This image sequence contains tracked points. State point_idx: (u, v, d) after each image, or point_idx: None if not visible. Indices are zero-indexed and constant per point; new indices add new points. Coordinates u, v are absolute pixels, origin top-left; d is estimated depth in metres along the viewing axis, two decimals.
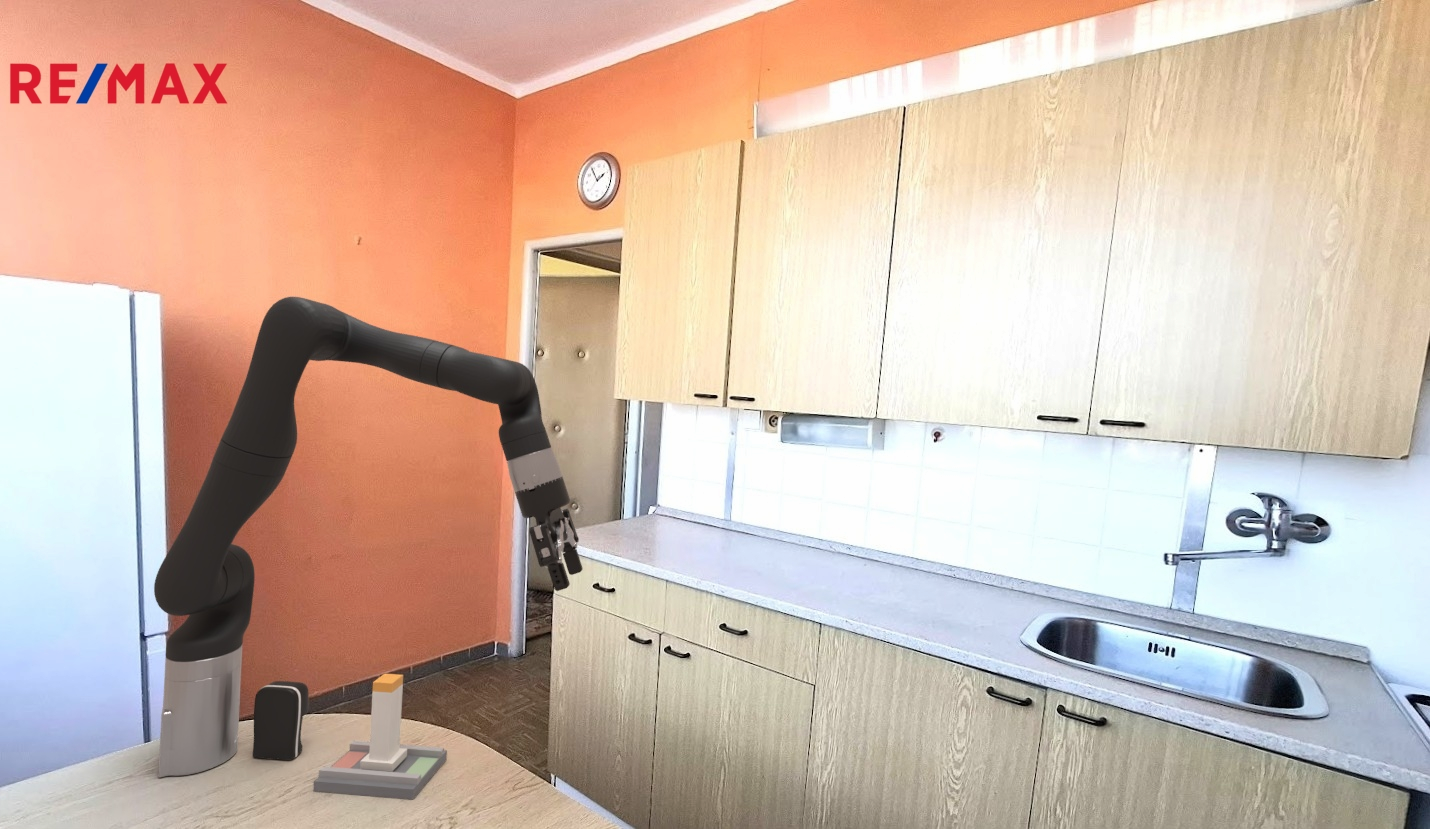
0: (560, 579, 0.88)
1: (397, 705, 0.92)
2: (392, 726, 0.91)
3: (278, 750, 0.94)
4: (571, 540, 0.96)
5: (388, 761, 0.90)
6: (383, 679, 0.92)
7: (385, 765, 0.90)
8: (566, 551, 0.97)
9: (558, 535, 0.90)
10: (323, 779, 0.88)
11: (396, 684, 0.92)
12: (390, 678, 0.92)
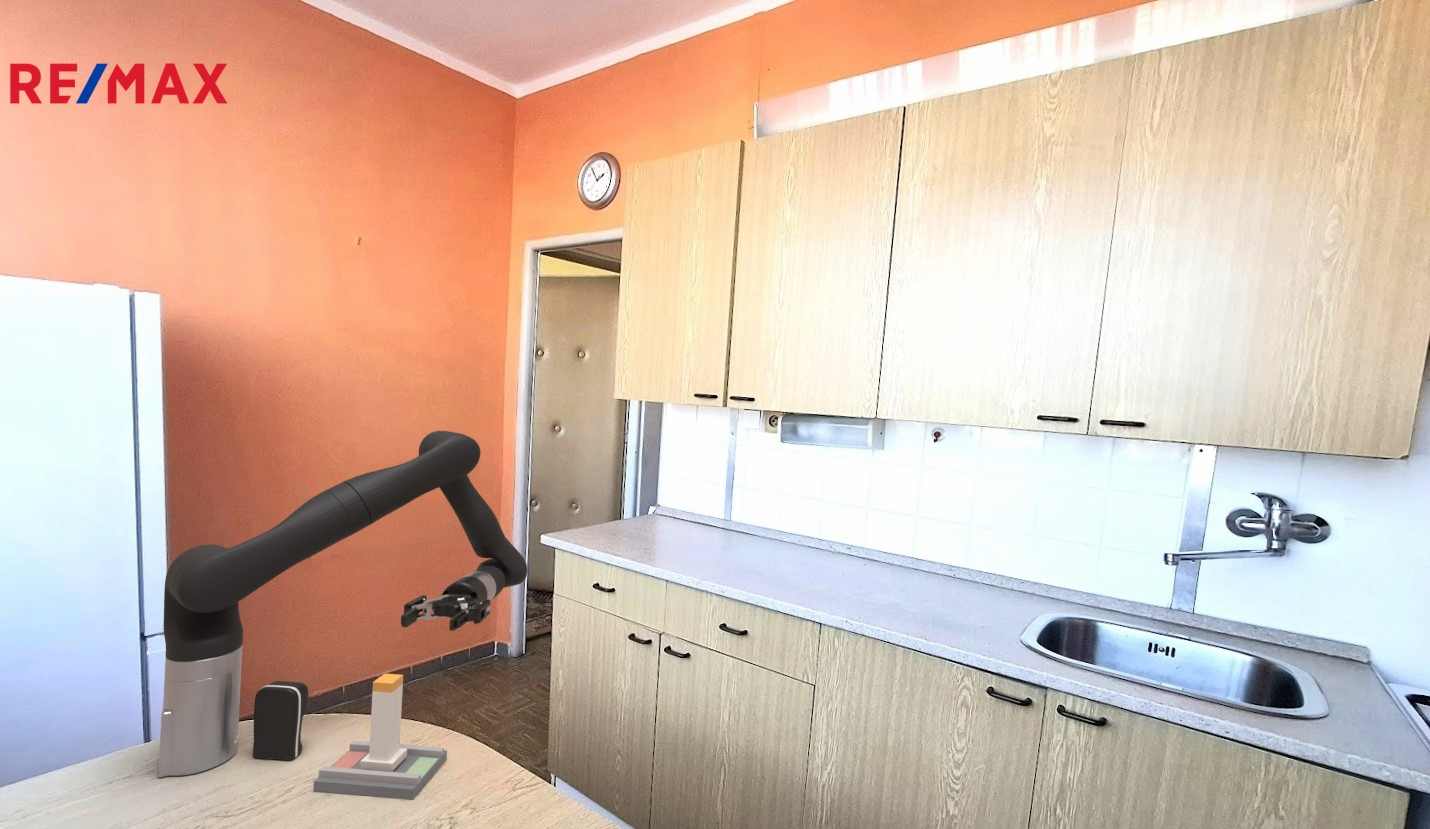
0: (461, 624, 1.04)
1: (397, 705, 0.92)
2: (392, 726, 0.91)
3: (278, 750, 0.94)
4: (426, 618, 1.09)
5: (388, 761, 0.90)
6: (383, 679, 0.92)
7: (385, 765, 0.90)
8: (417, 611, 1.07)
9: None
10: (323, 779, 0.88)
11: (396, 684, 0.92)
12: (390, 678, 0.92)
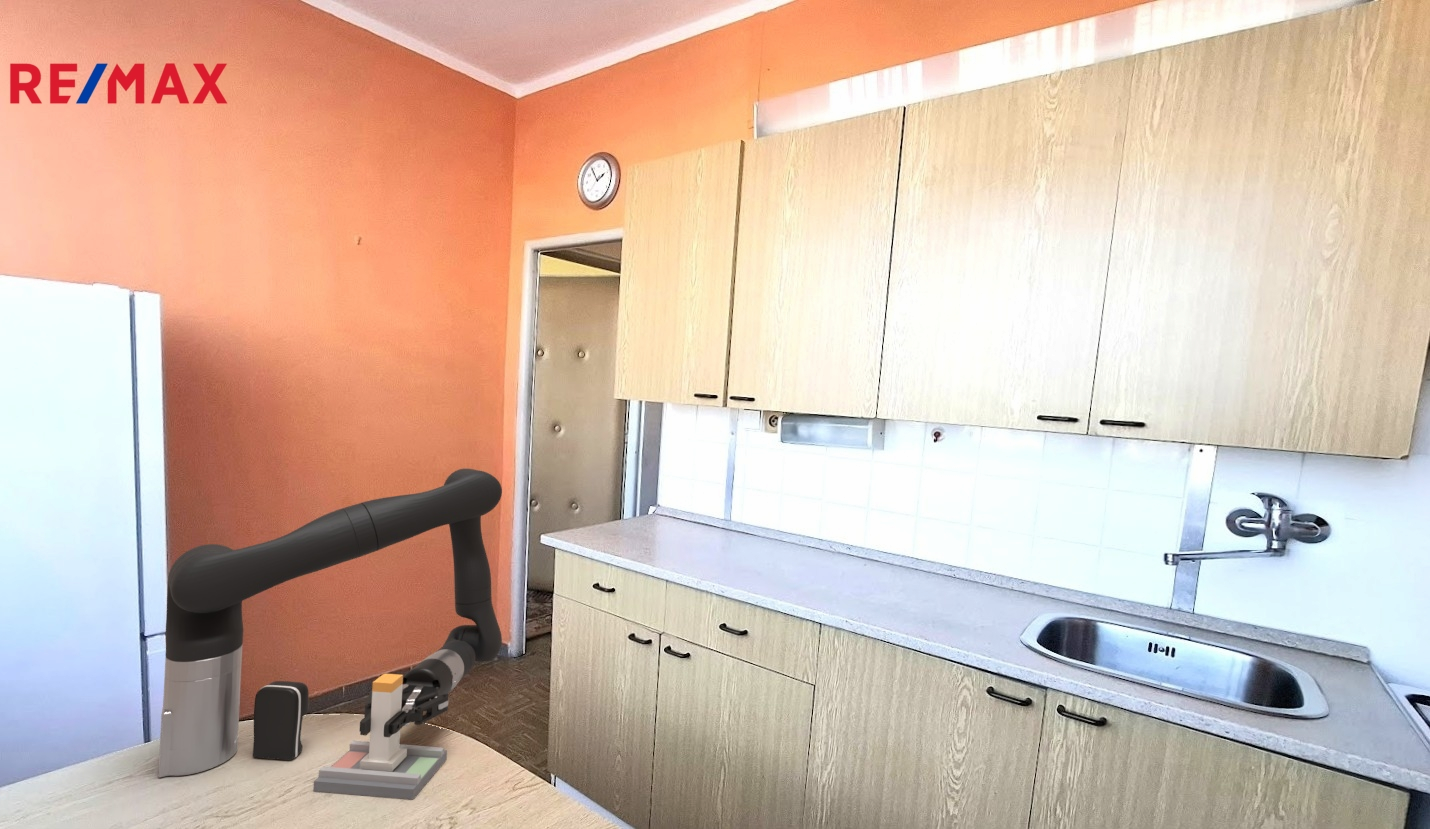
0: (398, 728, 0.91)
1: (397, 705, 0.92)
2: None
3: (278, 750, 0.94)
4: None
5: (388, 761, 0.90)
6: (383, 679, 0.92)
7: (385, 765, 0.90)
8: None
9: None
10: (323, 779, 0.88)
11: (396, 684, 0.92)
12: (390, 678, 0.92)
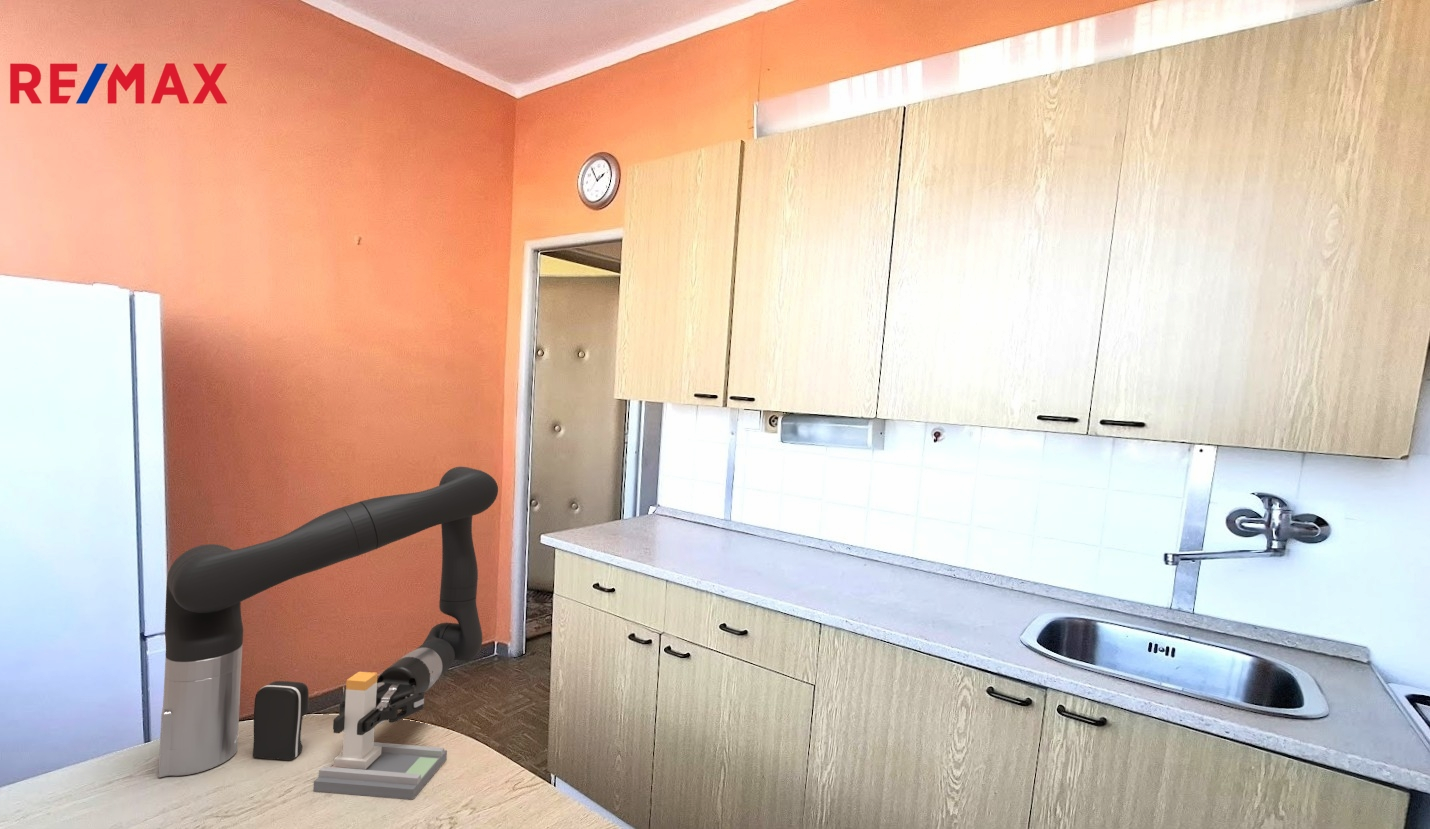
0: (372, 726, 0.91)
1: (371, 703, 0.92)
2: None
3: (278, 750, 0.94)
4: None
5: (361, 759, 0.90)
6: (357, 677, 0.92)
7: (358, 763, 0.90)
8: None
9: None
10: (323, 779, 0.88)
11: (370, 682, 0.92)
12: (364, 676, 0.92)
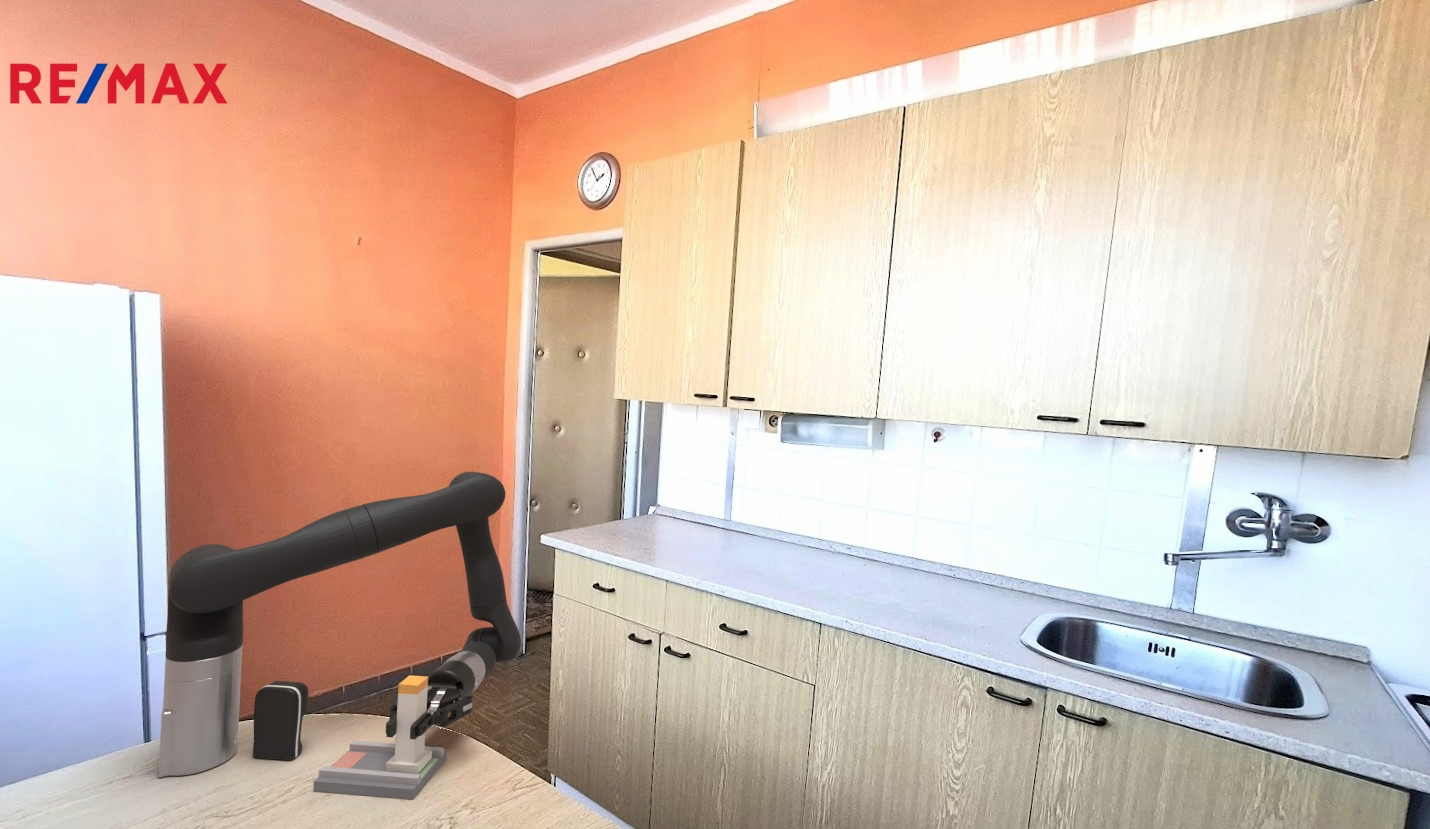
0: (424, 730, 0.90)
1: (423, 707, 0.92)
2: None
3: (278, 750, 0.94)
4: None
5: (414, 764, 0.90)
6: (409, 681, 0.91)
7: (411, 767, 0.90)
8: None
9: None
10: (323, 779, 0.88)
11: (421, 686, 0.91)
12: (416, 680, 0.92)
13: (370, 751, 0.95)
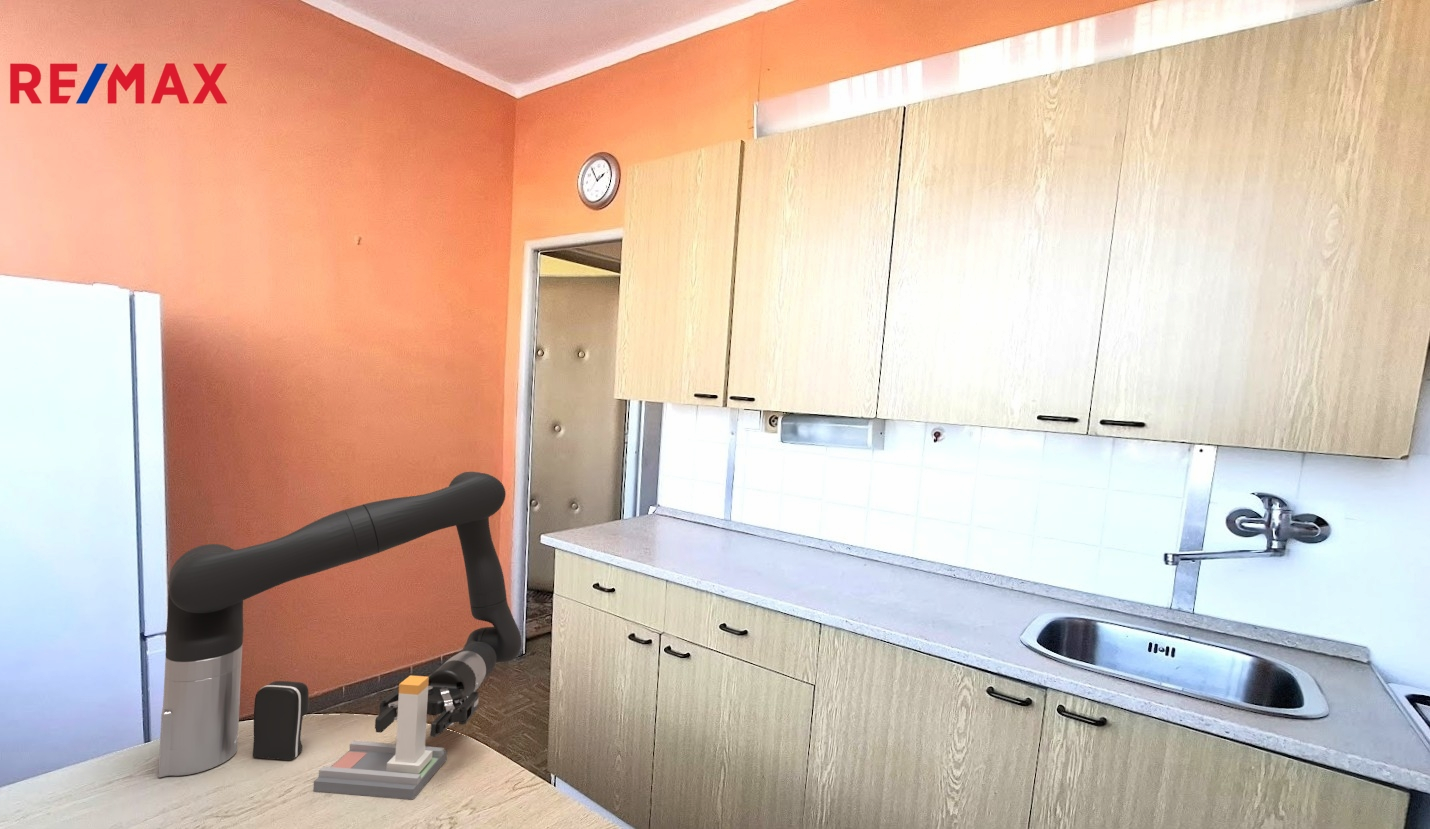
0: (444, 728, 0.91)
1: (423, 707, 0.92)
2: (418, 728, 0.91)
3: (278, 750, 0.94)
4: None
5: (414, 764, 0.90)
6: (409, 681, 0.91)
7: (411, 767, 0.90)
8: (394, 710, 0.94)
9: None
10: (323, 779, 0.88)
11: (422, 686, 0.91)
12: (416, 680, 0.92)
13: (370, 751, 0.95)
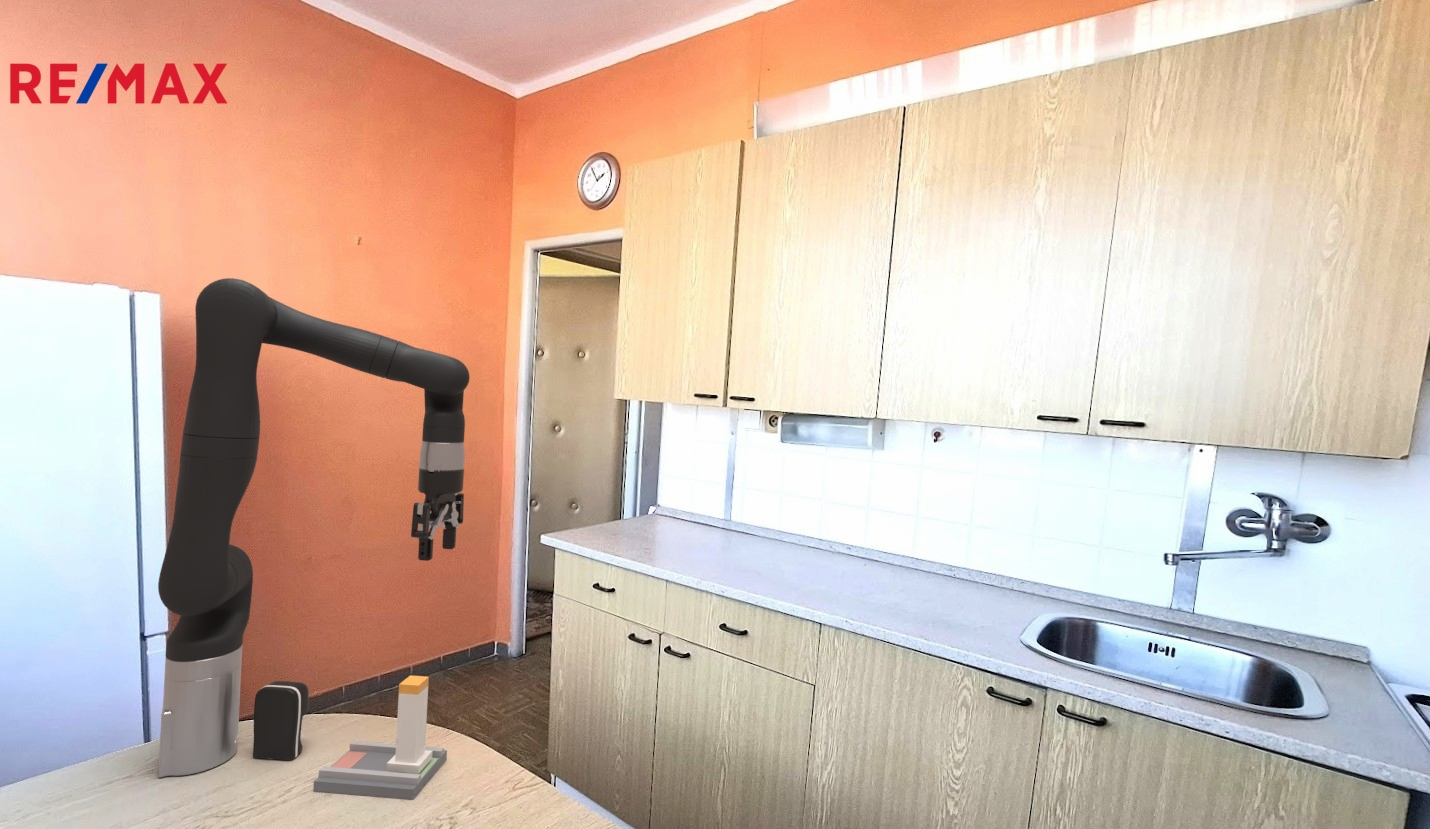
0: (424, 552, 1.04)
1: (423, 707, 0.92)
2: (418, 728, 0.91)
3: (278, 750, 0.94)
4: (453, 521, 1.12)
5: (414, 764, 0.90)
6: (409, 681, 0.91)
7: (411, 767, 0.90)
8: (447, 528, 1.13)
9: (438, 516, 1.06)
10: (323, 779, 0.88)
11: (422, 686, 0.91)
12: (416, 680, 0.92)
13: (370, 751, 0.95)
